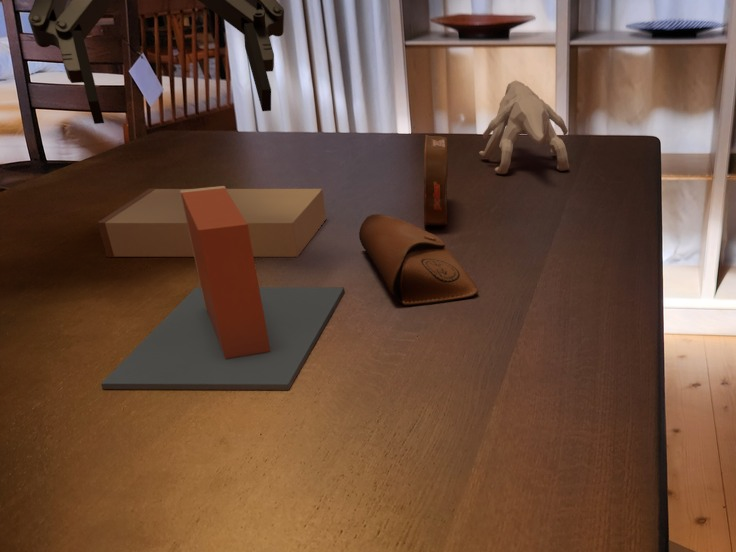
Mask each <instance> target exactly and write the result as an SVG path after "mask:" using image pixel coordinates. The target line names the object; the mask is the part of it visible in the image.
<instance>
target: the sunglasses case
mask: <svg viewBox="0 0 736 552" xmlns="http://www.w3.org/2000/svg"><path fill="white" fill-rule="evenodd" d="M358 232H359V233H358V239H359V241H360V244H361V246H362V248H363V249H364V250H365V252H366V253H367V255H368V256H369V257H370V260H371V261H372V262H373V264H374V266H375V267H376V269H377V270H378V272H379V275H381V277H382V279H383V281H384V282H385V285H386V287H387V289H388V290H389V291H390V294H392V295H393V297H395V298H396V299H397V300H398V301H399V302H400V303H401V304H402V305H404V306H414V305H417V306H419V305H434V304H441V303H447V302H452V301H459V300H462V299H467V298H471V297H474V296H475V295H478V294H479V289H478V286H477V285H476V284H475V281H473V279H472V278H471V276H470V275H469V274H468V272H467V271H466V270H465V269H464V267H463V266H462V265H461V263H460V262H459V261H458V260H457V258H455V256H454V255H453V254H452V253H451V252H450V250H449V249H448V247H446V244H445V242H444V241H443V240H442V239H441V238H440V237H439V236H438V235H436V234H434V233H431V232H429V231H426V230H424V229H422V228H421V227H418V226H416V225H414V224H412V223H410V222H407V221H405V220H403V219H399V218H397V217H394V216H389V215H386V214H379V213H377V214H370V215H368V216H367V217H366V218H365V219H364V220H363V222H362V224H361V226H360V227H359V231H358Z"/></svg>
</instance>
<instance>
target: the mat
mask: <svg viewBox="0 0 736 552" xmlns="http://www.w3.org/2000/svg"><path fill="white" fill-rule="evenodd" d="M259 290H260V296H261V301H262V307H263V312H264V318H265V323H266V329H267V334H268V340H269V346H270V352H265V353H259V354H253V355H247V356H241V357H235V358H229V359H225V357H224V354H223V351H222V349H221V346H220V344H219V341H218V338H217V336H216V333H215V330H214V328H213V325H212V322H211V320H210V317H209V314H208V312H207V311H206V308H205V304H204V299H203V295H202V290H201V286H196V287H195V288H194V289H193V290H191V292H190V293H189V294H188V295H186V297H184V299H183V300H182V301H181V302H180V303H179V304H178V305H177V306H176V307H175V308H174V309H173V310H172V311H171V312H170V313H168V314H167V316H166V317H165V318H164V319H163V320H162V321H161V322H160V323H159V324H158V325H157V326H156V327H155V328H154V329H153V330H152V331H151V332H150V333H149V334H148V335H147V336H146V338H144V339H143V340H142V341H141V342H140V343H139V344H138V345H137V346H136V347H135V348H134V349H133V350H132V351H131V353H129V355H127V356H126V357H125V358H124V359H123V360H122V361H121V362H120V363H119V364H118V366H116V367H115V369H113V370H112V371H111V373H110V374H109V375H108V376H107V377H106V378H105V379H104V380H103V381H102V382H100V386H101V388H102V390H171V391H172V390H174V391H175V390H180V391H181V390H182V391H183V390H184V391H186V390H187V391H189V390H194V391H195V390H197V391H198V390H204V391H205V390H206V391H208V390H209V391H211V390H212V391H213V390H214V391H216V390H217V391H220V390H221V391H222V390H223V391H224V390H225V391H228V390H229V391H236V390H237V391H261V390H262V391H289V390H290V389H291V388H292V385H293V383H294V382H295V380H296V378H297V376H298V374H299V373H300V371H301V369H302V368H303V367H304V364H305V363H306V360H307V359H308V357H309V356H310V353H311V352H312V350H313V348H314V346H315V345H316V343H317V341H318V339H319V338H320V336H321V334H322V332H323V331H324V329H325V327H326V326H327V324H328V322H329V321H330V318H331V317H332V315H333V313H334V312H335V310H336V308H337V306H338V305H339V303H340V301H341V300H342V298H343V295H344V294H345V287H344V286H259Z"/></svg>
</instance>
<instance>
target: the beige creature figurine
mask: <svg viewBox="0 0 736 552" xmlns="http://www.w3.org/2000/svg"><path fill="white" fill-rule="evenodd" d="M497 110H498V111H497V113H496V116H495V117H494V118H493V119H491V120H490V122H489V123H488V125H487V127H486V128H485V130H484V132H483V133H482V138H483V139H484V140H486V139H487V138H488V137H489V136H490V138H489V140H488V141H487V144H486V145H485V149H484V150H481V151H479V152H478V154H479V156H481V157H482V158H485V159H489V158H490V157H491V156H492V155H493V153H494V151H496V149H497V147H498V145H499V149H500V151H501V155H500V156H501V158H500V159H501V160H500V164H499V166H497V167H495V168H494V171H495V173H496V174H499V175H506V174H507V173H508V172H509V168H510V166H511V161H512V154H513V150H514V149H513V148H514V144H515V142H516V141H517V140H518V137H519V135H527V136H528V137H529V138H530V139H531V140H532V141H534V143H536V144H538V145H542V146H543V145H545V144H548V145H549V147H550V151H549V152H550V153H551V154H553V155H556V161H557V162H556V163H557V165H556V169H557V170H558V171H560V172H565V171H567V170H569V169H570V163H569V157H568V152H567V147H566V145H565V142H564V141H563V140H562V138H560V137H559V136H558V135H557V133H556V130H555V128H554V126H553V124H552V122H553V123H554V124H555V125H556V126H557V127H558V128H560V130H561V132H562V134H563V136H566V135H567V134H568V131H569V130H568V128H567V126H566V122H565V121H564V119H563V118H562V116H560V115H559V114H557V113H556V111H555V110H554V109H553V108H552V107H551V106H550V104H547V103H546V102H545V101H544V100H543V99H542V98H540V97H539V95H538V94H536V93H535V92H534V91H533V90H532V89H531V88H530V87H529V86H528V85H525V83H523V82H522V81H518V80H516V79H515V80H513V81H511V82H509V83H508V84H507V86H506V89H505V93H504V96H502V98H501V100H500V102H499V107H498V109H497ZM551 121H552V122H551Z"/></svg>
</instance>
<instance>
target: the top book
mask: <svg viewBox="0 0 736 552" xmlns="http://www.w3.org/2000/svg"><path fill="white" fill-rule="evenodd" d="M188 189H189V190H180V194H181V199H182V203H183V208H184V212H185V217H186V222H187V226H188V231H189V235H190V240H191V244H192V249H193V254H194V257H193V259H194V263H195V267H196V273H197V276H198V281H199V285H200V286H199V287H201V290H202V295H203V299H204V304H205V308H206V311H207V312H208V314H209V317H210V320H211V322H212V325H213V328H214V330H215V333H216V336H217V338H218V341H219V344H220V346H221V349H222V351H223V354H224V357H225V359H229V358H235V357H241V356H247V355H253V354H259V353H265V352H270V346H269V340H268V334H267V329H266V323H265V318H264V312H263V307H262V301H261V296H260V290H259V287H260V285H259V279H258V274H257V268H256V262H255V257H253V251H252V246H251V240H250V235H249V229H248V224H247V223H246V221H245V219H244V218H243V216H242V215H241V213H240V211H239V210H238V208H237V207H236V205H235V203H234V202H233V200H232V199H231V197H230V195H229V194H228V192H227V191H226V189H227V188H226V186H225V185H219V186H208V187H199V188H188Z"/></svg>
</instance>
